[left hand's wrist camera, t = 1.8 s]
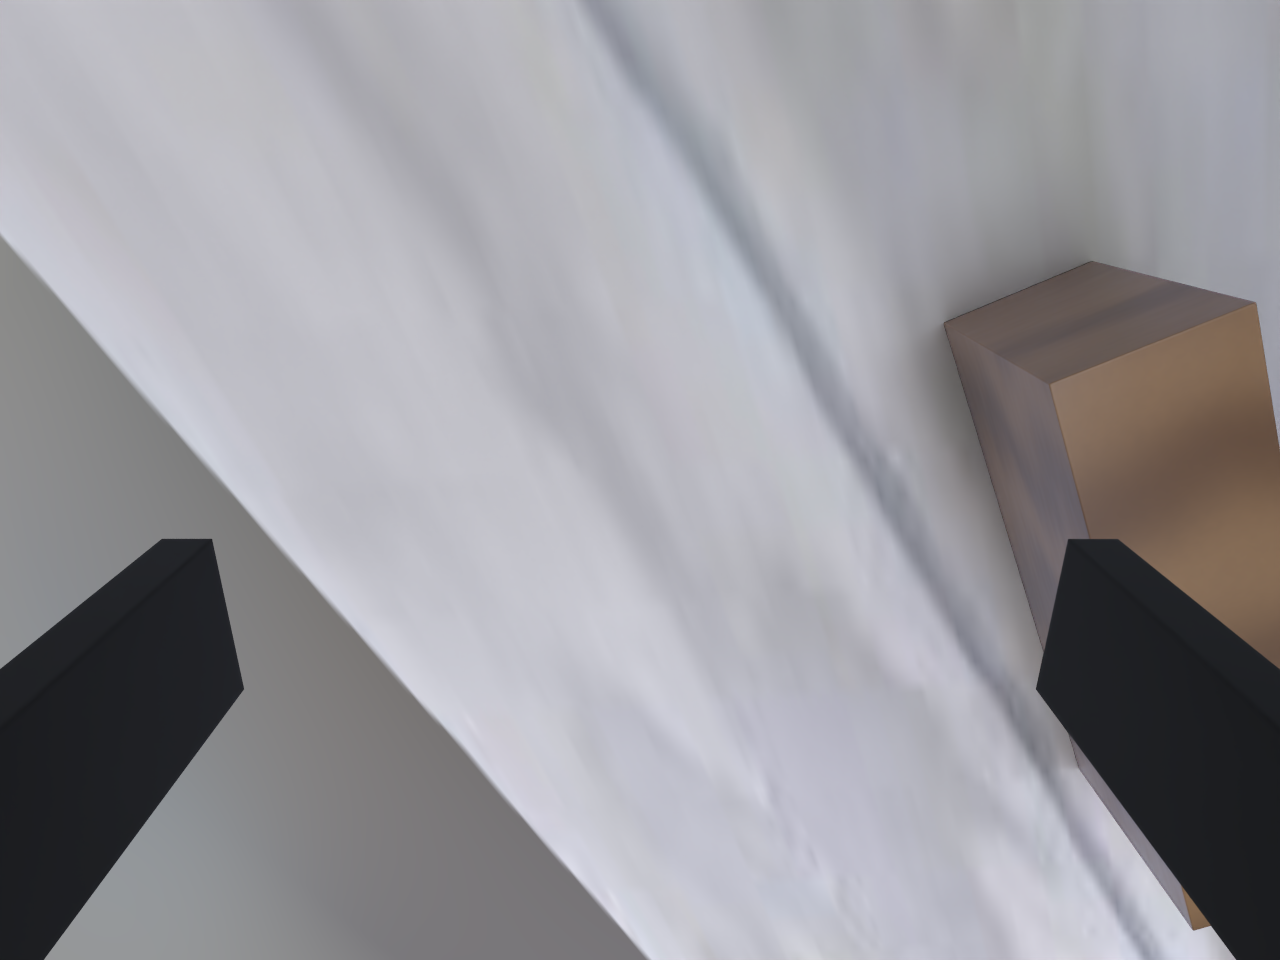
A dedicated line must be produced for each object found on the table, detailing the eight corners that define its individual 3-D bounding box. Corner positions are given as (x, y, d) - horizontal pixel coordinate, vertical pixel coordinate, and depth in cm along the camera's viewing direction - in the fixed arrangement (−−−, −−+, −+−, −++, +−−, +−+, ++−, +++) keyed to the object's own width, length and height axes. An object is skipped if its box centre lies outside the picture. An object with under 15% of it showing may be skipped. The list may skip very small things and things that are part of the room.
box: (943, 322, 33) (1048, 384, 24) (1092, 260, 32) (1256, 301, 23) (1079, 769, 41) (1193, 931, 33) (1200, 730, 40) (1350, 886, 32)
